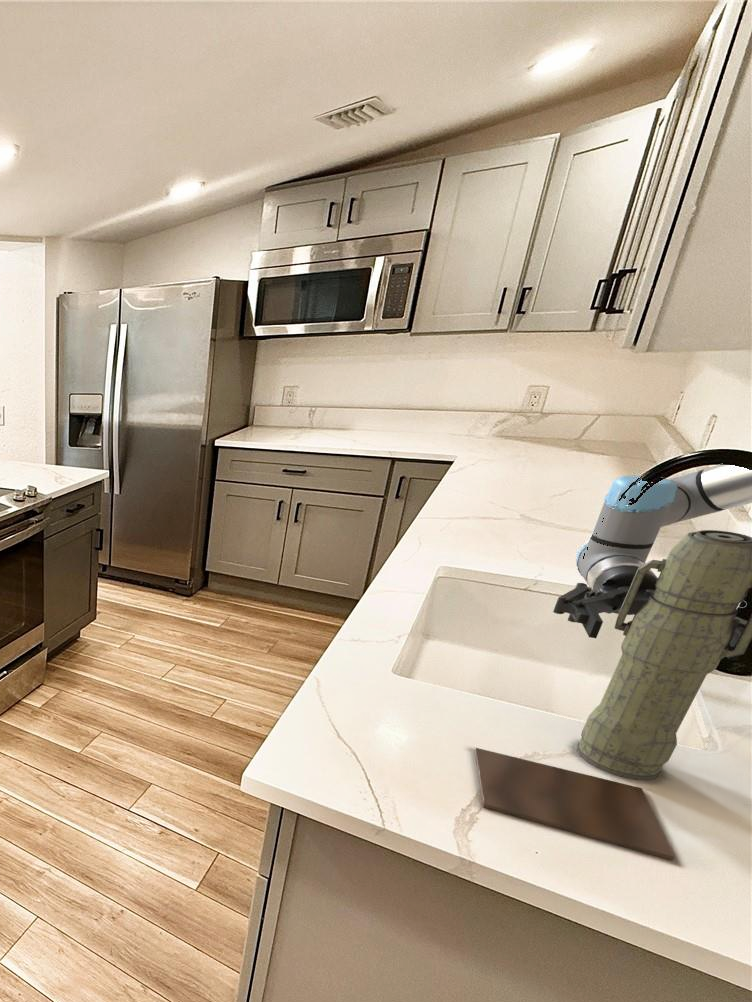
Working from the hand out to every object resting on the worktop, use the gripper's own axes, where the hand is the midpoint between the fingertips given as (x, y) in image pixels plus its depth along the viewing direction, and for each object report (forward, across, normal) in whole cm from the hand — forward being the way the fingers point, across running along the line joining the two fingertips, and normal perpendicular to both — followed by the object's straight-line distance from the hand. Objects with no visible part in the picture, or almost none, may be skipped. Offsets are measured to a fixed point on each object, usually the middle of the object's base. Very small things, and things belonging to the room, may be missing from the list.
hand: (663, 640), depth 85 cm
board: (+17, +8, -19) cm, 26 cm away
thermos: (+3, 0, -19) cm, 19 cm away
